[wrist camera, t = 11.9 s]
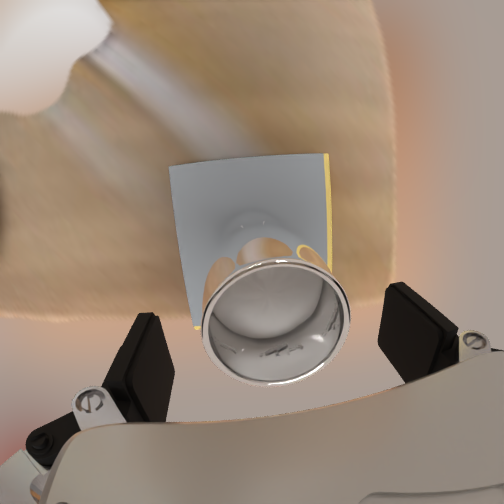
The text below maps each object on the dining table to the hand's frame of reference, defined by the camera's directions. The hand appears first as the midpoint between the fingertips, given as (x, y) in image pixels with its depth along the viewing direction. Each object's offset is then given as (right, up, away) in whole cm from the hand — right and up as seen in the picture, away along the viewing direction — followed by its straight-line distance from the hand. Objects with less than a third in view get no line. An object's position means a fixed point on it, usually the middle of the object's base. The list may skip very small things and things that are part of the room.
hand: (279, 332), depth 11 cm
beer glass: (-1, +4, +15) cm, 16 cm away
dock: (-1, +5, +18) cm, 19 cm away
